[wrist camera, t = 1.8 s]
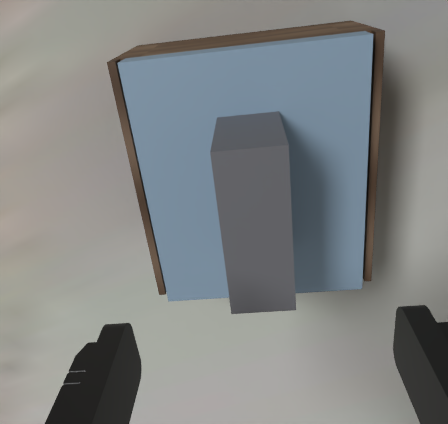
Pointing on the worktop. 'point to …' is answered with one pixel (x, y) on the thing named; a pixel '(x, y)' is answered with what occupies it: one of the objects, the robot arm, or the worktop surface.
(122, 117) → the wooden box
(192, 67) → the cover plate
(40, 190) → the worktop surface
